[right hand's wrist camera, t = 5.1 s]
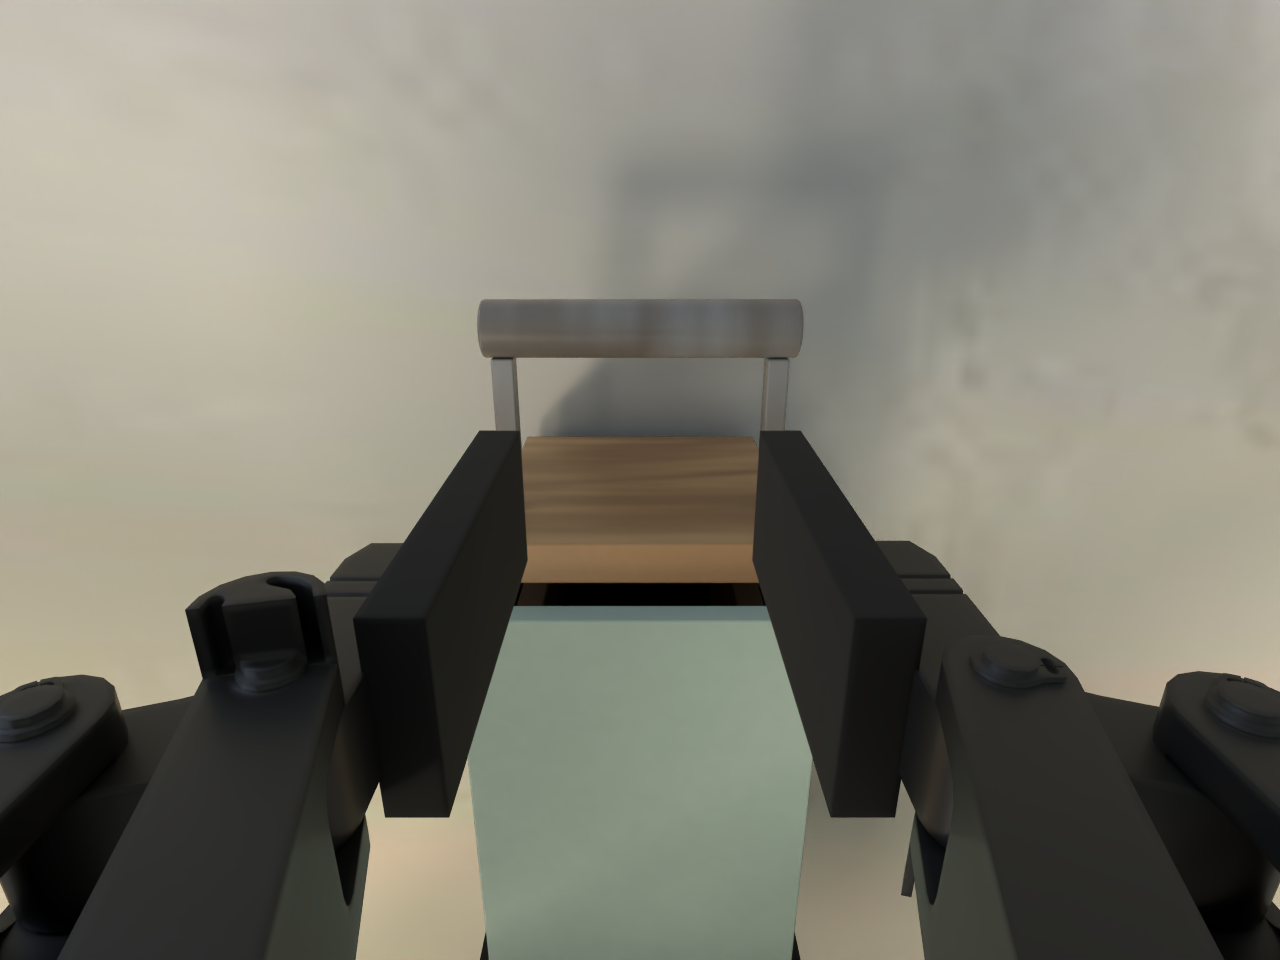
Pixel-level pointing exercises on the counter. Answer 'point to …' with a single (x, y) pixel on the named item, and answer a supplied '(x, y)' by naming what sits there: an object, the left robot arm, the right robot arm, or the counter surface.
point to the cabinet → (640, 786)
